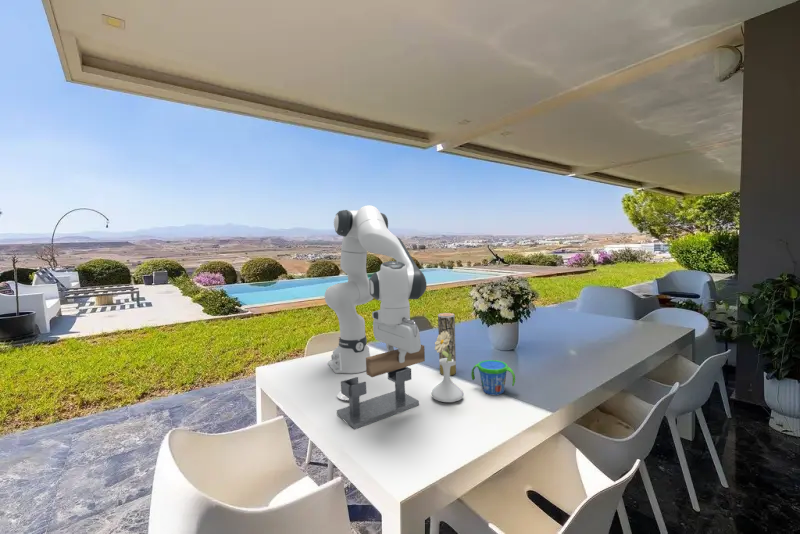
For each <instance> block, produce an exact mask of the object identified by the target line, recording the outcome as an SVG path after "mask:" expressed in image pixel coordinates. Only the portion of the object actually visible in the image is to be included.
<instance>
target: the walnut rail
mask: <svg viewBox="0 0 800 534" xmlns="http://www.w3.org/2000/svg"><path fill="white" fill-rule="evenodd" d="M399 354H400V352H399V349H398V348H396V349H394V350H393V351H389V352H388V351H385V352H383V353H382V352H381V353H377V354H375V355H370V357H366V371H365V372H366V375H367V376H369V377H370V378H374V377H378V376H381V375H384V374H388V372H391V371H394V370H398V369H401V368H404V367H411V366H414V365H416V364H420V363H423V362H425V360H426V359H425V358H426V357H425V356H426V355H425V345H423V344H421V349H420V351H419V352H415V353H408V352H407V353H406V355H405V361H404V362H403V363H400V362H398V361H397V356H399Z"/></svg>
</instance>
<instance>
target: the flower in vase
mask: <svg viewBox="0 0 800 534" xmlns="http://www.w3.org/2000/svg"><path fill="white" fill-rule="evenodd" d="M449 341H450V337H449V334H448V332H447V331H446V332H445V333H444V331H443V332H441V335H439V334H438V335H437V337H436V341H435V342H434V345H435V346H434V351H436V353H437V354H439V353H440V352H442V354H443V355H444V356H446V357H448V358H442V359H440V360H438V361H440V362H441V364H442V367H443V372H444V375H443V378H442V379H443V380H442V381H441V382H440V383H438V385H436V386H435V387H434V388H432V390H431V393H430V394H431V395H430V396H432V398H433V399H435V400H436V401H439V402H443V403H454V402H457V401H460V400H461V399H462V398H463V397H464V390H462V389H461V387H460V386H458V385H457V384H456V383H454V382H453V381H452V380H451V376H450V367H451V364H452V362H453V361H454V360H453V359H451V354H448V353H449V349H448V347H447V345H449ZM446 348H447V349H448V353H447V352H446V351H445V349H446Z"/></svg>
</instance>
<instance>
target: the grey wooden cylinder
mask: <svg viewBox="0 0 800 534" xmlns="http://www.w3.org/2000/svg"><path fill="white" fill-rule="evenodd" d="M455 317H456V316H455V313H453V312H452V313H451V312H441V313H439V314H437V323H438V324H437V325H438V327H437V328H438V335H441V332H443V331H444V333H445V332H446V331H447V332H448V334H449V337H450V341H449V345H447V347H448V349H449V353H448V349H447V348H446V349H445V351H446V352H447V353H448V354H451V359H453V360H454V361H453V362H452V364H451V367H450V377H451V376H454V375H456V373H457V366H456V365H457V364H456V363H457V362H456V361H457V360H456V359H457V358H456V357H457V355H456V353H457V352H456V326H455V325H456V320H455V319H456V318H455ZM438 357H439V360H440V359H442V358H448V357H446V356H444V355H443V354H442V352H440V353H439V352H438ZM439 360H438V361H439ZM439 373H440V374H441V375H442V376H444V372H443V367H442V364H441V362H440V361H439Z"/></svg>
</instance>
